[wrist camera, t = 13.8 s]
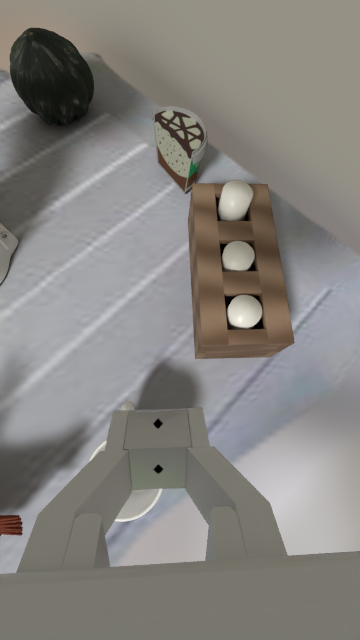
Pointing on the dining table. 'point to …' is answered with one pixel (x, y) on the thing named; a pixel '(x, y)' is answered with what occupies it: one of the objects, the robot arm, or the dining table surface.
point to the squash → (51, 76)
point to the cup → (138, 499)
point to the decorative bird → (10, 525)
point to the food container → (179, 144)
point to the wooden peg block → (235, 277)
